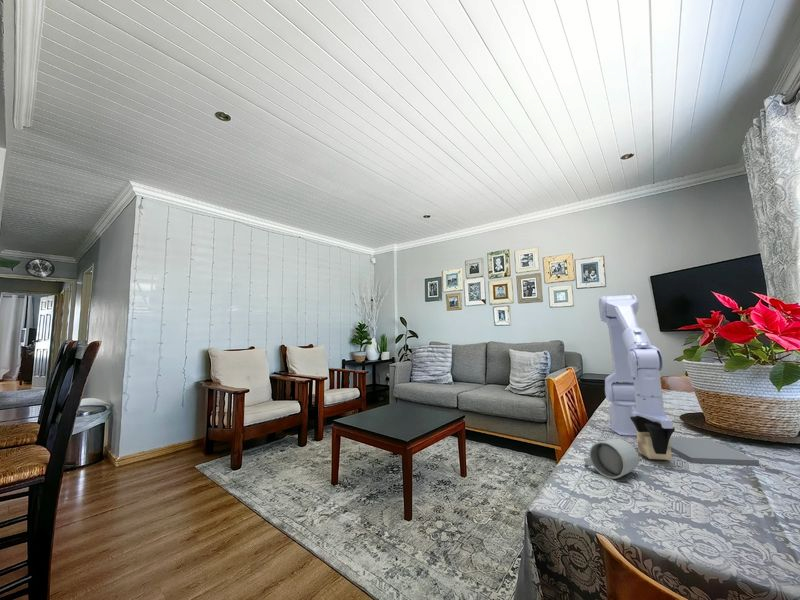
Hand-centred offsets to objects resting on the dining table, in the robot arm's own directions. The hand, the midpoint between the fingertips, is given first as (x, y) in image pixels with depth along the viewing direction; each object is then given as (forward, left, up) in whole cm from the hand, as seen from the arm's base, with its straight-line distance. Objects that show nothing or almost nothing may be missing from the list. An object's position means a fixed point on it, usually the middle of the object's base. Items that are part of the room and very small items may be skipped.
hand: (653, 449), depth 82 cm
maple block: (0, 0, -1) cm, 1 cm away
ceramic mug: (+10, -15, -3) cm, 18 cm away
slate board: (-6, +14, -2) cm, 15 cm away
